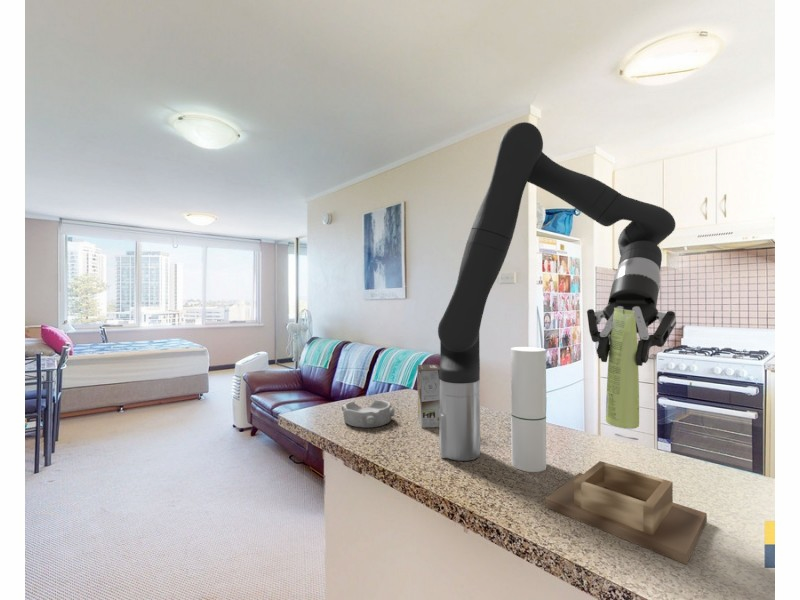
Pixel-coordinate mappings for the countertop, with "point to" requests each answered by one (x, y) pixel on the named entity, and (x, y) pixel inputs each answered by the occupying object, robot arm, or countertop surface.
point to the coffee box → (428, 395)
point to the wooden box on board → (631, 509)
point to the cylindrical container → (528, 408)
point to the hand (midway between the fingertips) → (620, 360)
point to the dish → (368, 414)
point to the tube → (623, 372)
